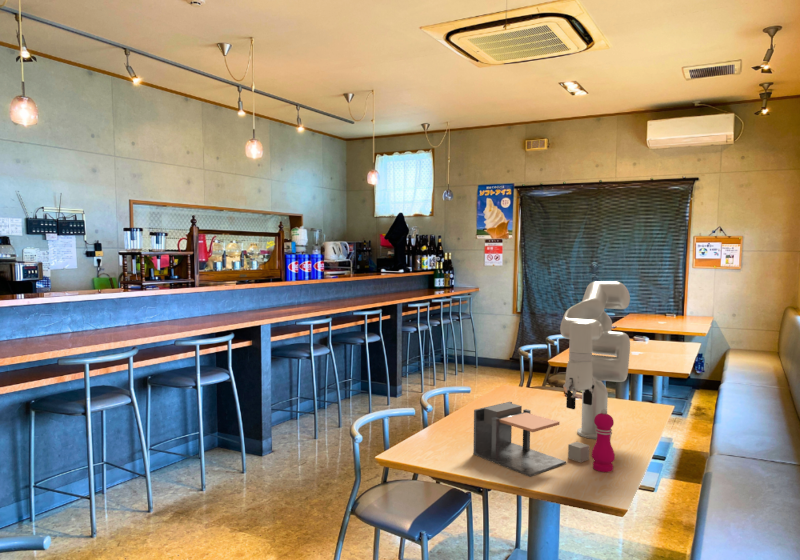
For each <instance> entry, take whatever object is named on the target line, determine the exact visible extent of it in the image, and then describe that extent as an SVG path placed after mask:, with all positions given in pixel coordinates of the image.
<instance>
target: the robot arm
mask: <svg viewBox="0 0 800 560" xmlns="http://www.w3.org/2000/svg"><path fill="white" fill-rule="evenodd" d="M630 295H631V294H630V292H629V290H628V288H627V286H626V285H625V284H624V283H622V282H619V281H604V280H603V281H602V280H601V281H599V280H598V281H592V282H589V284H588V285H587V287H586V289H585V292H584V295H583V297H582V300H581V301H580V302H578V303H576V304H574V305H572V306H571V307H569V308H568V309H567V310H566V311H565V312H564V314H563V317H562V319H561V321H560V322H561V323H560V327H559V328H560V329H559V330H560V334H561V335H560V336H562V337H563V338H565V339H567V340H569V341H568V342H569V348H568V349H569V350H568V351H569V352H568V355H569V356H568V361H567V364H566V370H565V382H564V384H562V385H563V386H562V387H563V393H564V394H565V397H566V404H565V405H566V406H565V407H566V408H567V409H571V410H575V409H576V402H577V401H576V397H575V396H576V394H577V392H581V394H582V395H581V427H579V428H578V429H577V432H576V433H577V435H579V436H580V437H582V438H585V439H592V440H597V432H596V427H597V426H596V425H595V423H594V419H595V417H596V415H598V414H600V413H602V412H601V411H602V409H606V410H607V411H608V398H609V397H608V396H609V394H608V389H607V387H606V385H605V384H604V382H603V381H605V382H613V383H615V382H616V383H622V382H625V381H626V380H627V377H628V374H629V366H630V365H629V364H630V353H631V351H630V350H631V339H630V337H629V335H628V334H627V333H625V332H622V331H612V328H613V321H612V319H611V317H610V316H609V314H608V313H607V312H606V311H605V309H610V310H611V309H612V310H614V309H615V310H625V309H627V308H628V307H629V305H630V302H631V297H630ZM606 414H608V412H607V413H606ZM611 437H612V434H610V438H611Z"/></svg>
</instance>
